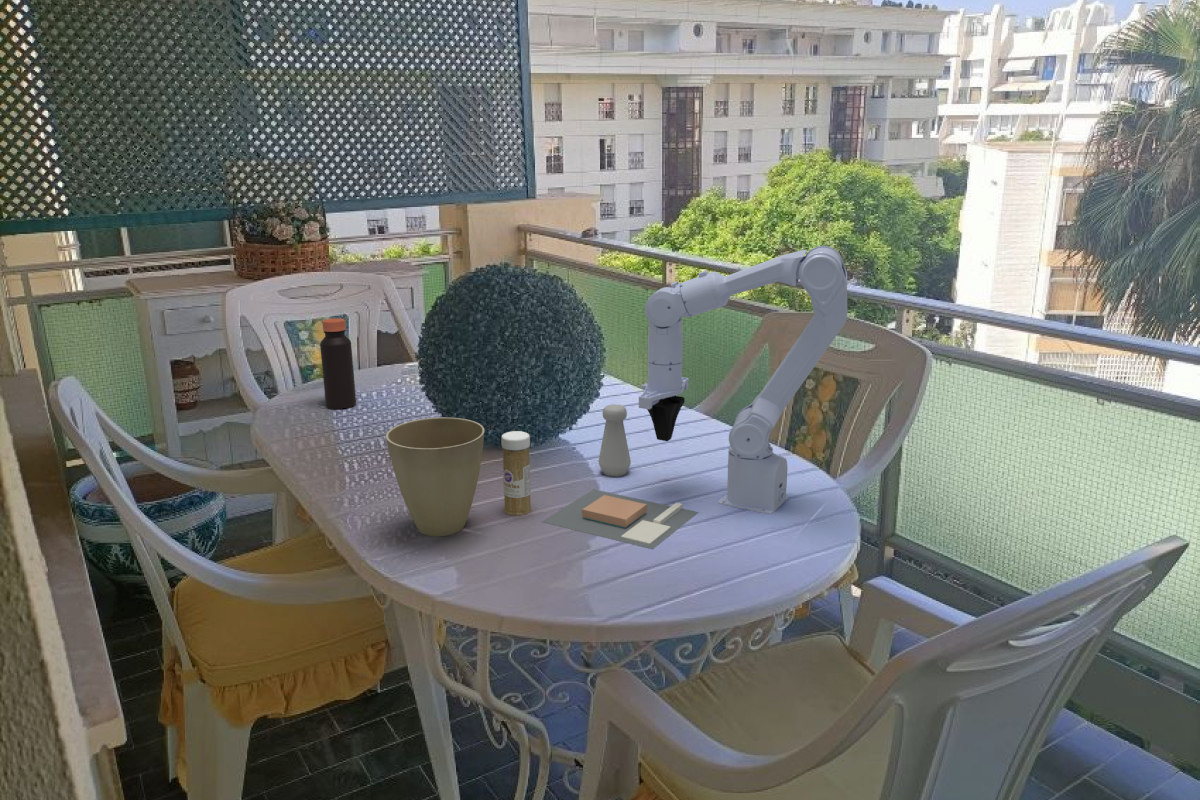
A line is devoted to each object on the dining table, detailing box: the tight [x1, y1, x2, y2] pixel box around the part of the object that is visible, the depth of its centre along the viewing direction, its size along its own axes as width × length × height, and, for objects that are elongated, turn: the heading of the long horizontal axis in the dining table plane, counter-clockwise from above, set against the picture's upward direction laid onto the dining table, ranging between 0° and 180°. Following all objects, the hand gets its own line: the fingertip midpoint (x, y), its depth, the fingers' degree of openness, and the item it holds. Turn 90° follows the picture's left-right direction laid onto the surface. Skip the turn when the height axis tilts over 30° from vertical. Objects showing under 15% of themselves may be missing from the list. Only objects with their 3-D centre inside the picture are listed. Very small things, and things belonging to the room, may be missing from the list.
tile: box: [582, 495, 647, 528], centre depth 147 cm, size 8×2×7 cm
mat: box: [541, 489, 699, 550], centre depth 147 cm, size 20×16×1 cm
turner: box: [621, 502, 684, 545], centre depth 144 cm, size 15×5×1 cm, turn 149°
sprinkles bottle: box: [501, 430, 532, 516], centre depth 148 cm, size 5×5×14 cm
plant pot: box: [385, 417, 485, 537], centre depth 142 cm, size 15×15×16 cm
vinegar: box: [319, 317, 357, 410], centre depth 207 cm, size 7×7×20 cm
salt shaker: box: [598, 403, 632, 478], centre depth 164 cm, size 6×6×13 cm
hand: (664, 439), depth 154 cm, fingers closed
